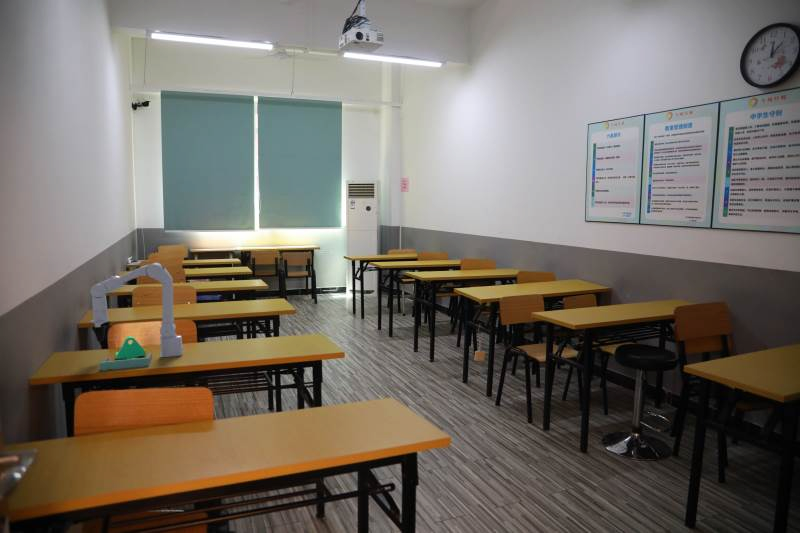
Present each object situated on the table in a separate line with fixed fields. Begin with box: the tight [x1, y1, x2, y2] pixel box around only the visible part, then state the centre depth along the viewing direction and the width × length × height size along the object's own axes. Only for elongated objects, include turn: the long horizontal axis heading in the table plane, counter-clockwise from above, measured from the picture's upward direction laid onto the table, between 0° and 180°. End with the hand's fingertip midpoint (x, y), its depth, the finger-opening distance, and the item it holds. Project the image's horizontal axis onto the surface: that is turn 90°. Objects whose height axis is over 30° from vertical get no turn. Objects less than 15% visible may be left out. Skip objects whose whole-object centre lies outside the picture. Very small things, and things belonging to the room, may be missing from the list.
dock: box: [99, 352, 153, 371], centre depth 240 cm, size 19×13×4 cm
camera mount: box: [115, 335, 147, 360], centre depth 251 cm, size 12×8×10 cm, turn 122°
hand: (102, 339), depth 245 cm, fingers open, 7 cm apart
